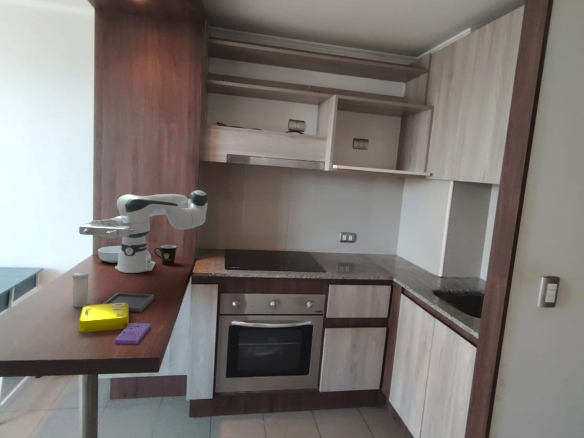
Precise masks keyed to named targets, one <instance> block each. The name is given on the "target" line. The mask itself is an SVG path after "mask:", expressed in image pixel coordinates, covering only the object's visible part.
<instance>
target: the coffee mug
mask: <svg viewBox="0 0 584 438" xmlns="http://www.w3.org/2000/svg"><path fill="white" fill-rule="evenodd" d="M156 250H159V251H160V253H161V254H160V255H161V256H160V255H158V254H157V252H156ZM153 252H154V254H155V255H156V256H157V257H158V258H160V259H161V265H162V266H173V265H175V260H176V253H177V245H174V244H164V245H160V247H156V248H154V251H153Z"/></svg>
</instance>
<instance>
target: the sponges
mask: <svg viewBox="0 0 584 438" xmlns="http://www.w3.org/2000/svg"><path fill="white" fill-rule="evenodd" d="M150 328H151V323H139V322H138V323H135V322H129V325H128V326H127V327H126V328H123V330H122V331H121V332H120V334H119V333H118V334H119V335H117V336H116V338H115V339H114V343H115V344H120V345H121V344H122V345H123V344H128V345H129V344H131V345H138V344H139V343H140V341H141V340H142V339H143V337H144V336H145V335H146V333H148V332H149V330H150Z"/></svg>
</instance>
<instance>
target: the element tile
mask: <svg viewBox="0 0 584 438" xmlns="http://www.w3.org/2000/svg"><path fill="white" fill-rule="evenodd" d="M81 308H82V309H81V311H80V314H79V315H80V316H79V318H78V332H79V333H93V332H103V331H113V330H121V329H123V330H124V329H125V328H126V327H127V326H128V325H129V323H130V322H129V320H130V319H129V318H130V317H129V316H130V312H129V308H128V304H127V303H112V304H103V303H102V304H101V303H100V304H99V303H98V304H88V305H86V306H83V307H81Z"/></svg>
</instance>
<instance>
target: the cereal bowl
mask: <svg viewBox="0 0 584 438" xmlns="http://www.w3.org/2000/svg"><path fill="white" fill-rule="evenodd" d="M121 251H122V250H121V245H113V246H112V245H111V246H109V245H108V246H104V247H103V246H102V247H100V248H98V249H97V255H98V258H99V259H100V260H102V261H104V262H107V263H110V264H118V255H119V253H120V252H121Z"/></svg>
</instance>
